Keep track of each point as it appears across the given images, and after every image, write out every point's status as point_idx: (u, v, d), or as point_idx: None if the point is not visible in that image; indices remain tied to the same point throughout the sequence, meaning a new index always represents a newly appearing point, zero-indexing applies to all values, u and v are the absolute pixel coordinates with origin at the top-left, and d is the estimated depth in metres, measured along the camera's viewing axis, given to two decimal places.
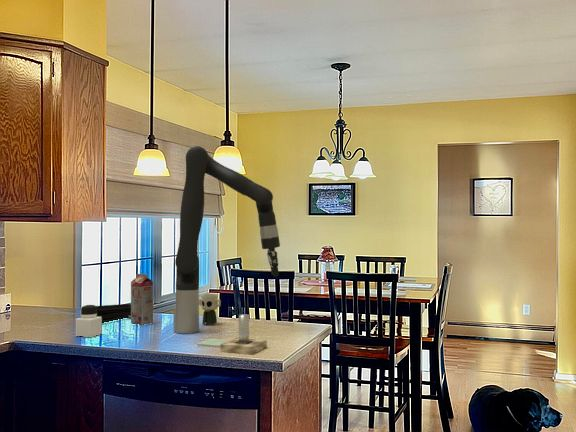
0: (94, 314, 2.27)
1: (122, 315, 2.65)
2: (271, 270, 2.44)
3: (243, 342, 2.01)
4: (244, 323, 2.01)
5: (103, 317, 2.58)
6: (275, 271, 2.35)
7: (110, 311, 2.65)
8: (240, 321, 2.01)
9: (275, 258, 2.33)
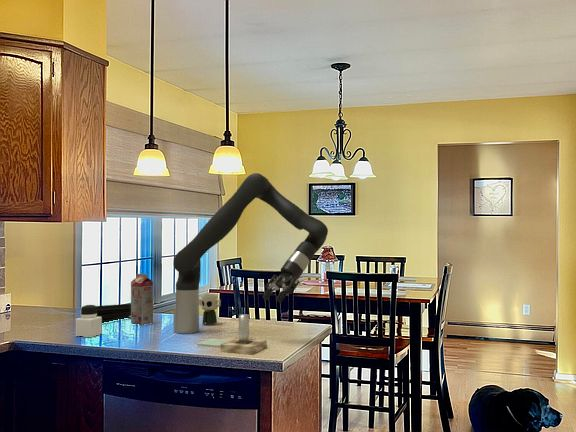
0: (94, 314, 2.27)
1: (122, 315, 2.64)
2: (266, 293, 2.13)
3: (243, 342, 2.01)
4: (244, 323, 2.01)
5: (103, 317, 2.58)
6: (282, 296, 2.06)
7: (110, 311, 2.65)
8: (240, 321, 2.01)
9: (294, 286, 2.08)
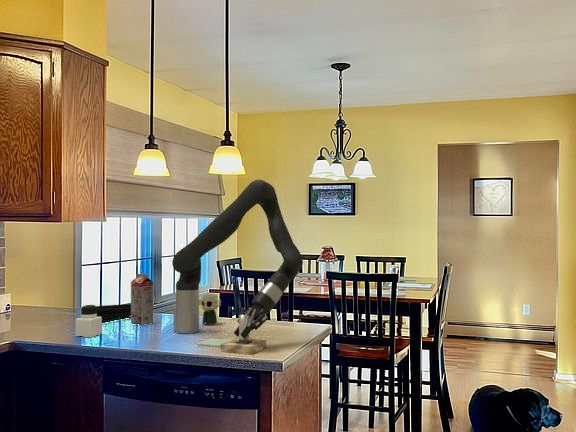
0: (94, 314, 2.27)
1: (123, 315, 2.64)
2: (237, 329, 2.03)
3: (243, 342, 2.01)
4: (244, 323, 2.01)
5: (104, 317, 2.58)
6: (247, 332, 2.00)
7: (111, 311, 2.65)
8: (240, 321, 2.01)
9: (260, 322, 2.00)
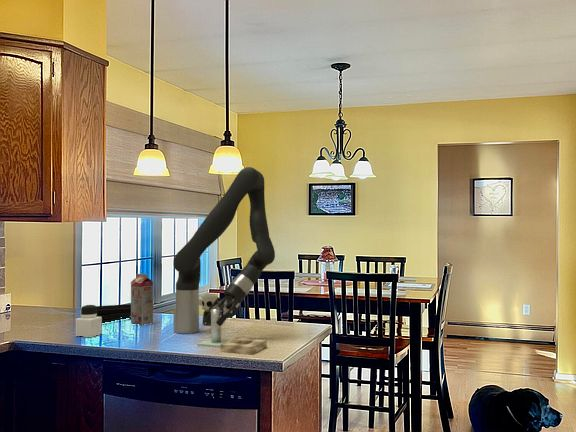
0: (94, 314, 2.27)
1: (123, 315, 2.64)
2: (208, 316, 2.15)
3: (215, 335, 2.11)
4: (216, 317, 2.11)
5: (104, 317, 2.58)
6: (223, 320, 2.08)
7: (112, 311, 2.64)
8: (212, 315, 2.11)
9: (235, 310, 2.09)
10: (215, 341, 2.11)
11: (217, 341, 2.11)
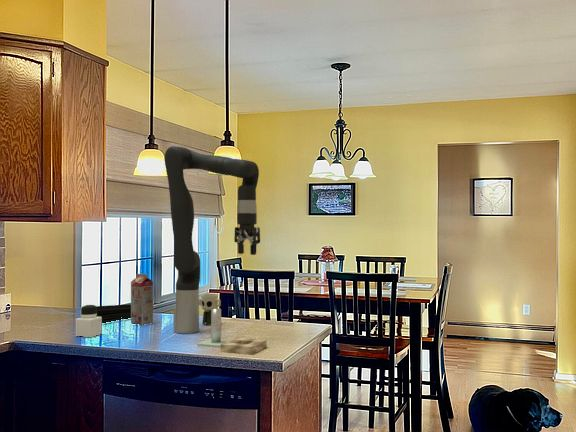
0: (94, 314, 2.27)
1: (124, 315, 2.63)
2: (239, 249, 2.26)
3: (215, 335, 2.11)
4: (216, 317, 2.11)
5: (104, 317, 2.58)
6: (254, 249, 2.19)
7: (112, 311, 2.64)
8: (212, 315, 2.11)
9: (258, 235, 2.18)
10: (215, 341, 2.11)
11: (217, 341, 2.11)
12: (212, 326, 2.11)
